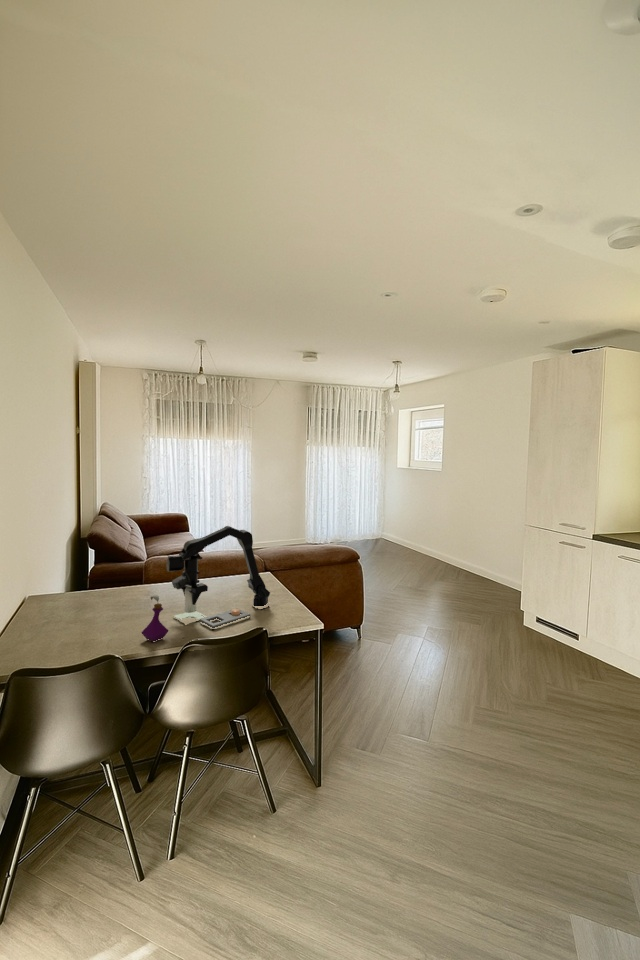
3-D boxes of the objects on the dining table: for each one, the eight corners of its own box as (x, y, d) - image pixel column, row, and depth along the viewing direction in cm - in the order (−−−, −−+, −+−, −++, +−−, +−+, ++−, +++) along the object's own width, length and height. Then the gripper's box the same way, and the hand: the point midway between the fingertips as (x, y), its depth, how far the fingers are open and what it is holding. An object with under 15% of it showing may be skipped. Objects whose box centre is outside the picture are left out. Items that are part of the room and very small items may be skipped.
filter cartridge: (192, 607, 207) (192, 585, 206) (198, 610, 203) (198, 587, 203) (182, 610, 203) (182, 587, 202) (188, 613, 200) (188, 589, 199)
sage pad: (194, 612, 211) (194, 610, 211) (207, 618, 204) (207, 616, 204) (172, 618, 203) (172, 616, 203) (185, 625, 196) (185, 623, 196)
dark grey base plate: (236, 612, 213) (237, 608, 213) (250, 618, 206) (250, 614, 206) (200, 623, 198) (200, 619, 198) (213, 630, 191) (213, 625, 191)
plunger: (236, 614, 209) (236, 608, 209) (241, 617, 206) (241, 610, 206) (229, 617, 206) (229, 610, 206) (234, 619, 203) (234, 613, 203)
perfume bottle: (168, 638, 182) (169, 595, 181) (153, 645, 176) (153, 600, 174) (156, 634, 186) (156, 591, 184) (141, 640, 179) (141, 596, 178)
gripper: (164, 568, 202) (163, 602, 203) (186, 577, 190) (185, 613, 191) (186, 563, 210) (185, 596, 212) (208, 572, 198) (208, 606, 199)
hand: (190, 603), depth 203 cm, fingers closed on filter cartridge, 5 cm apart
